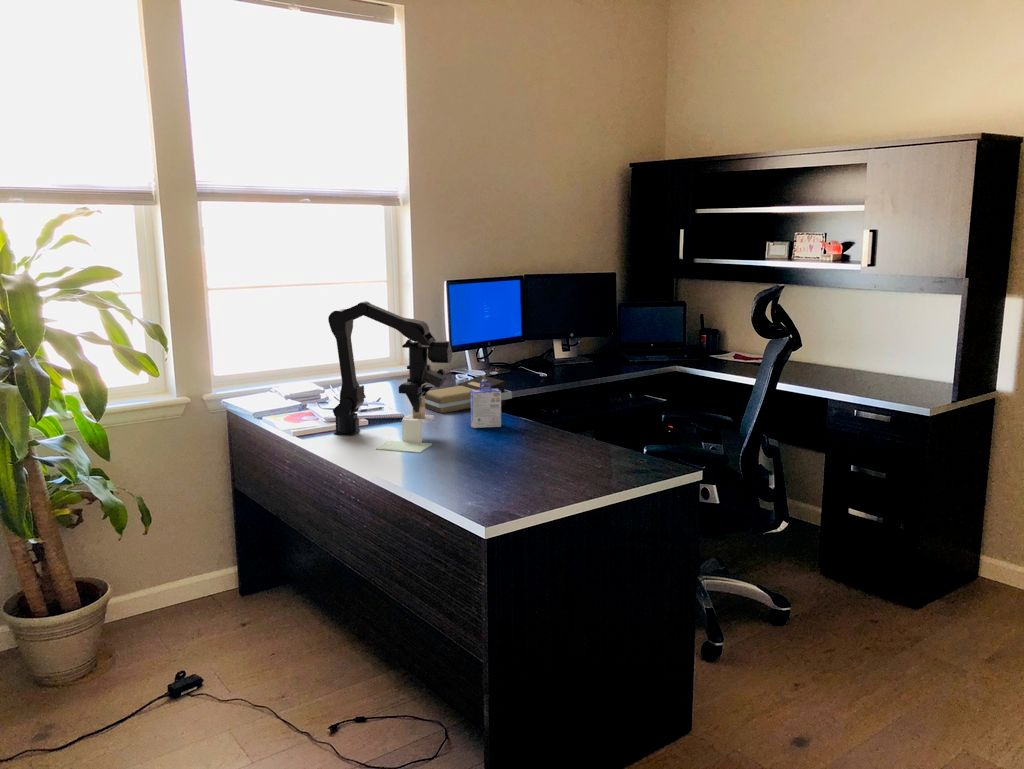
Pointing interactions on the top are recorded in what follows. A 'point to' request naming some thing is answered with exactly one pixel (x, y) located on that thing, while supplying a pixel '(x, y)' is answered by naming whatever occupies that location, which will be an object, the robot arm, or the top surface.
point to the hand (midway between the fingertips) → (418, 410)
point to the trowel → (420, 413)
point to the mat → (404, 446)
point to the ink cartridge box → (485, 407)
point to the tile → (412, 430)
